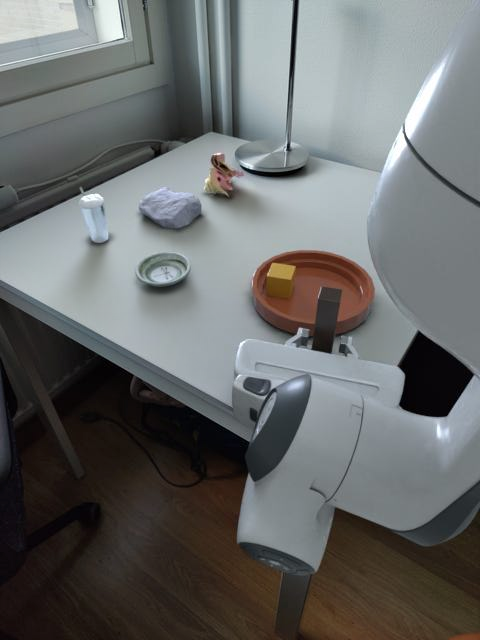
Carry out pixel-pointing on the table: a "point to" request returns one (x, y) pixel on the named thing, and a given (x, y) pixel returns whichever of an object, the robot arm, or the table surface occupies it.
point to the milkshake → (94, 216)
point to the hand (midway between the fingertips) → (325, 335)
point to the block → (280, 280)
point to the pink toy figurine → (220, 175)
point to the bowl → (314, 291)
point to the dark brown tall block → (326, 319)
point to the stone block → (170, 208)
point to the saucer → (163, 269)
